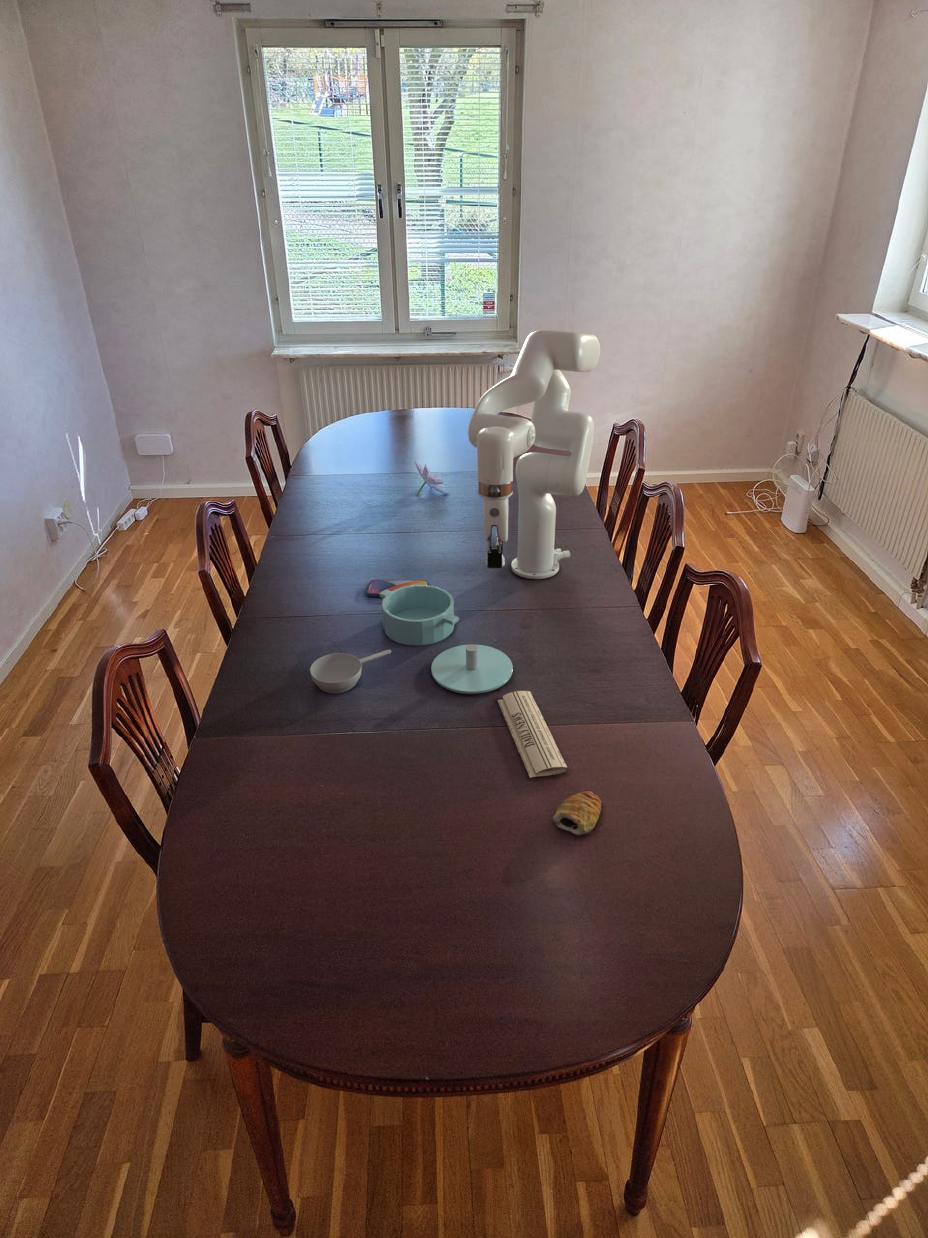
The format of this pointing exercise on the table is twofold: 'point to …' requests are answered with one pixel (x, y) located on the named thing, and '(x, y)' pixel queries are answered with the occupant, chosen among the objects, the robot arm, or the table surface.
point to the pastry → (578, 813)
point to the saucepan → (339, 671)
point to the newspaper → (531, 734)
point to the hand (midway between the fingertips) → (495, 561)
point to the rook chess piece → (502, 557)
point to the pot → (418, 614)
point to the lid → (472, 669)
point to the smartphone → (390, 585)
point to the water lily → (429, 479)
